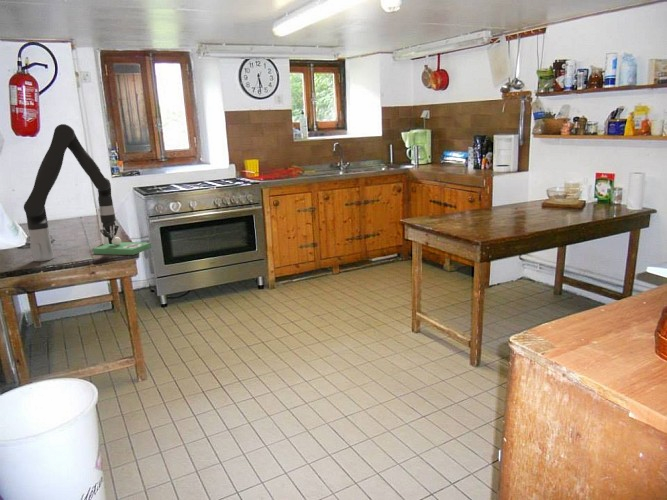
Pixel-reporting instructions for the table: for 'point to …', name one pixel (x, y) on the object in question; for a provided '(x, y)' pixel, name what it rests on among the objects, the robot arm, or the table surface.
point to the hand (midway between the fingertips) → (111, 243)
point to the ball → (116, 241)
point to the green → (122, 248)
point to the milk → (104, 239)
